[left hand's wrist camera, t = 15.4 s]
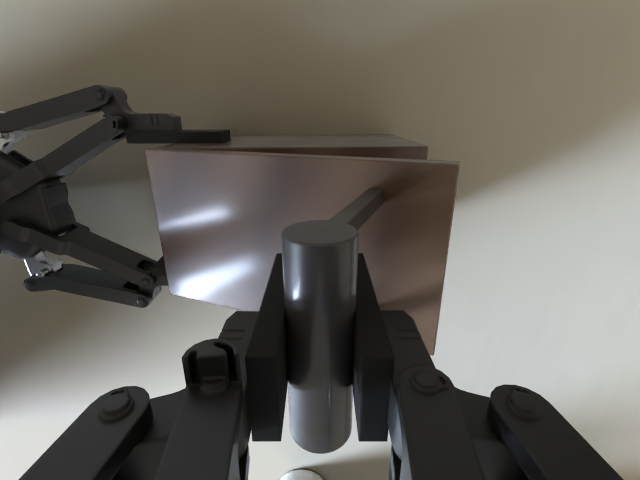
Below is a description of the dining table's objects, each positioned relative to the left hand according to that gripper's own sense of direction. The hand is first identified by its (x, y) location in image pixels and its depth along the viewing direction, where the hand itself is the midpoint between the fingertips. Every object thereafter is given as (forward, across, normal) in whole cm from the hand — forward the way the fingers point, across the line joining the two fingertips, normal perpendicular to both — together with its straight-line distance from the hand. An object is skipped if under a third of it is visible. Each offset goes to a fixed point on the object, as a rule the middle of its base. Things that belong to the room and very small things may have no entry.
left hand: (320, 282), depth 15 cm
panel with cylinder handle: (+5, +2, 0) cm, 5 cm away
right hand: (+13, +7, 0) cm, 15 cm away
